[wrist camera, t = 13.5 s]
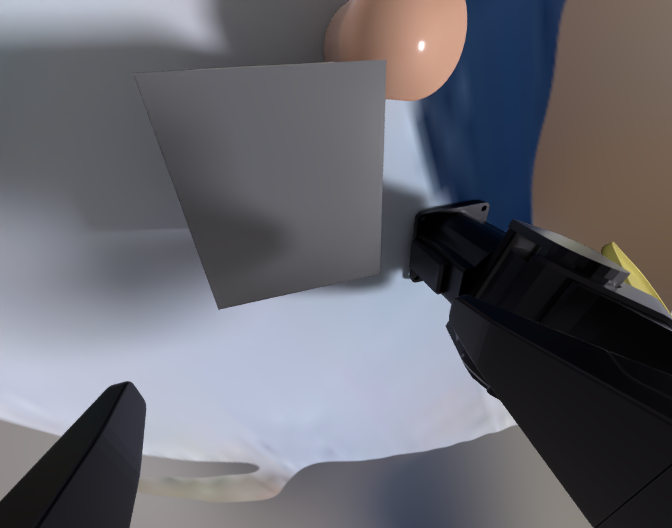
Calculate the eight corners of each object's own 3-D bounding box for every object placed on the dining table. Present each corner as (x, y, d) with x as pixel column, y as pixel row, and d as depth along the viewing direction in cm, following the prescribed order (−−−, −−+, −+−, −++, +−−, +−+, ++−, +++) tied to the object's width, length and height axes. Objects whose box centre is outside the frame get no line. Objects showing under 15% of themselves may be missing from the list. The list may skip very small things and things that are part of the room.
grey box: (323, 67, 16) (386, 53, 9) (332, 212, 21) (379, 273, 14) (174, 75, 14) (122, 66, 8) (221, 231, 19) (213, 310, 12)
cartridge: (400, -2, 15) (477, -43, 11) (395, 94, 18) (456, 96, 13) (320, -2, 14) (364, -46, 10) (326, 99, 17) (364, 104, 12)
